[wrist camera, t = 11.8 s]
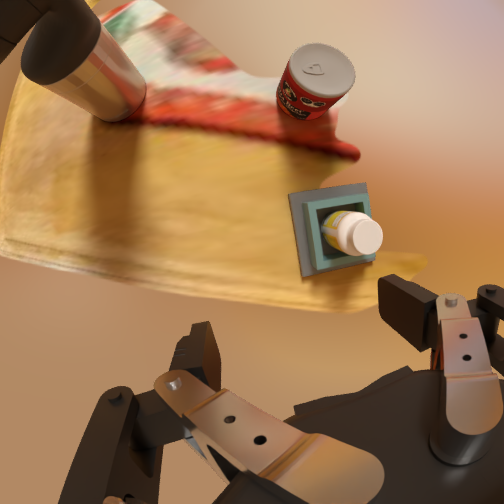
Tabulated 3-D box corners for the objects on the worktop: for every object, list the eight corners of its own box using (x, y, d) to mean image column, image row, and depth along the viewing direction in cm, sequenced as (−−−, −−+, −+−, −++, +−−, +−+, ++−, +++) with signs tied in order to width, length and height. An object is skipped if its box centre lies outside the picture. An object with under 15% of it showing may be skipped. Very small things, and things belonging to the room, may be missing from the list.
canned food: (265, 88, 35) (276, 52, 24) (310, 70, 35) (332, 36, 24) (292, 130, 36) (313, 106, 26) (336, 110, 36) (367, 85, 25)
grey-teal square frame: (288, 194, 38) (294, 193, 34) (362, 182, 38) (375, 181, 34) (301, 275, 40) (308, 282, 36) (372, 258, 41) (384, 264, 37)
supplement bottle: (352, 248, 39) (384, 262, 29) (318, 246, 39) (344, 260, 29) (355, 211, 38) (390, 216, 28) (321, 208, 38) (348, 211, 28)
